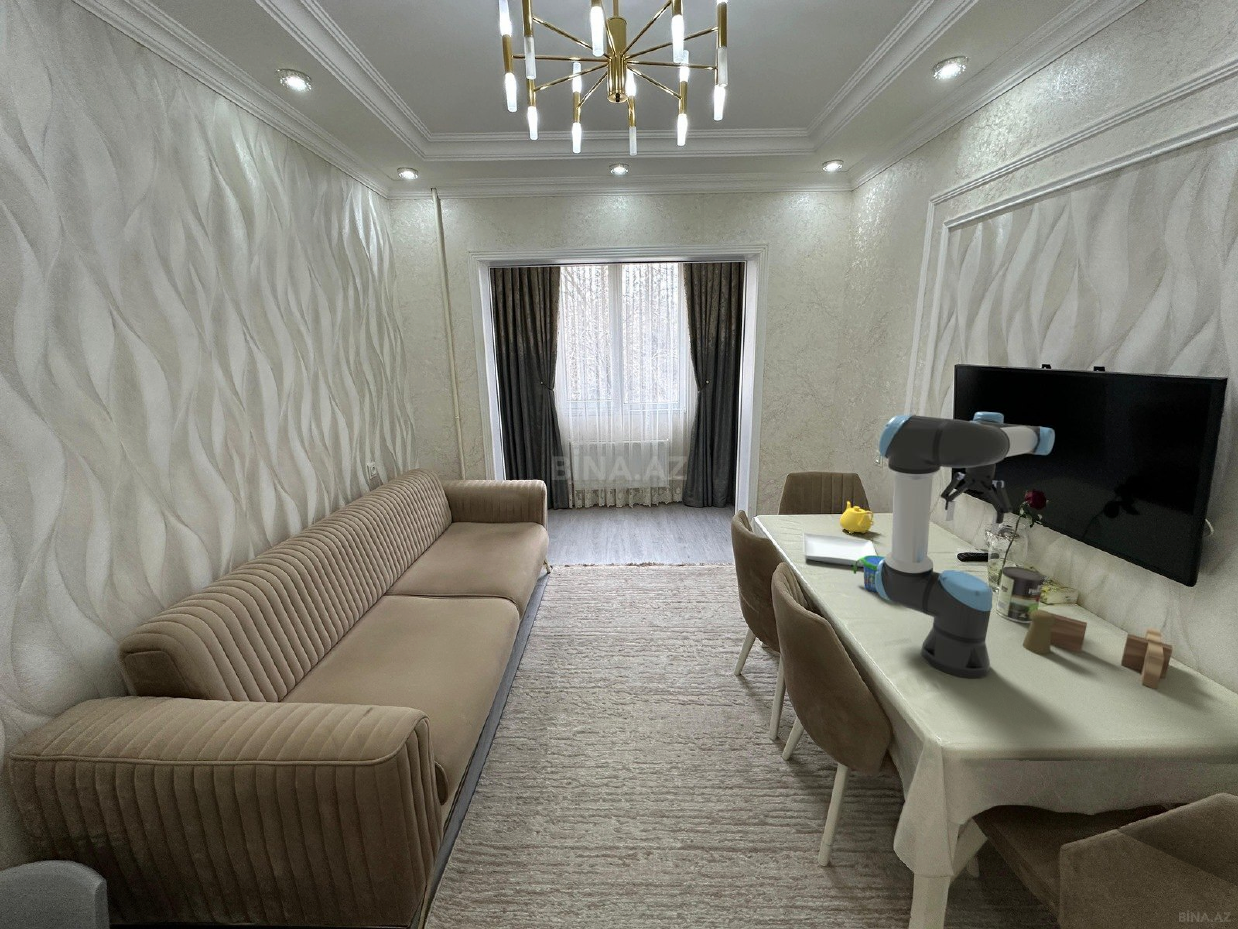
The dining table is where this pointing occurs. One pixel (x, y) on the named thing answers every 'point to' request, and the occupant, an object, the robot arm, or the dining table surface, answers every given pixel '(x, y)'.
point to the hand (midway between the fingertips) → (970, 526)
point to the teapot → (856, 519)
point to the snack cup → (869, 570)
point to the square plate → (836, 549)
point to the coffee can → (1019, 593)
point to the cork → (1039, 632)
